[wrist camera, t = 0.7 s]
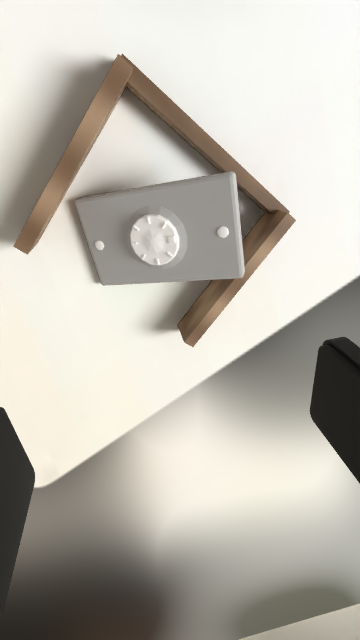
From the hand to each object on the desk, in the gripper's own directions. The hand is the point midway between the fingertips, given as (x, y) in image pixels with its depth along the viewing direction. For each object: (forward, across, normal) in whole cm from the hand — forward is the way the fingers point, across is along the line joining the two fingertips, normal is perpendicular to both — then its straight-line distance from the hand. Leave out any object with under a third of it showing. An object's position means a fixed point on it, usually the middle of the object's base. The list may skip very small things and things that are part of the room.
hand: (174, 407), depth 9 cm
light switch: (+25, -2, 0) cm, 25 cm away
